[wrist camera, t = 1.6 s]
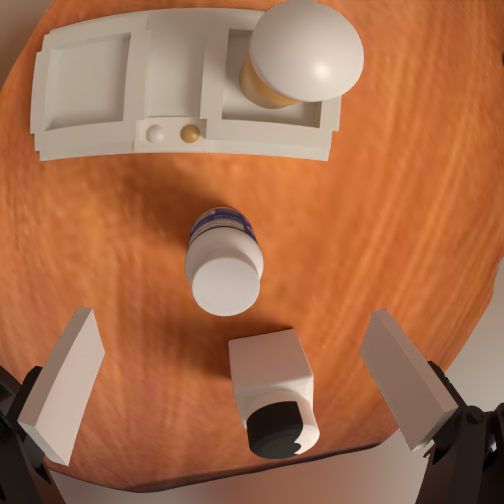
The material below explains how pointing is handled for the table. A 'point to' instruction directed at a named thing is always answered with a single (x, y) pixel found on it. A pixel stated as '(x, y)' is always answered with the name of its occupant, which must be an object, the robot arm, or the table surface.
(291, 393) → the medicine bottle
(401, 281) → the table surface
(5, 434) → the robot arm
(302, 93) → the rack
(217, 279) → the pill bottle
